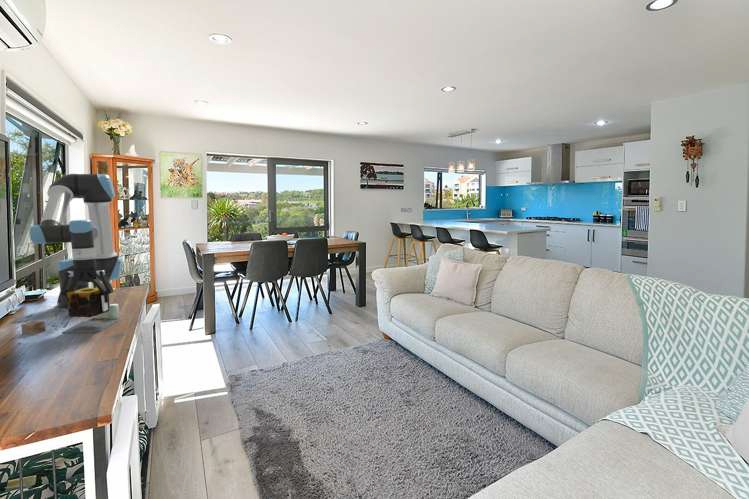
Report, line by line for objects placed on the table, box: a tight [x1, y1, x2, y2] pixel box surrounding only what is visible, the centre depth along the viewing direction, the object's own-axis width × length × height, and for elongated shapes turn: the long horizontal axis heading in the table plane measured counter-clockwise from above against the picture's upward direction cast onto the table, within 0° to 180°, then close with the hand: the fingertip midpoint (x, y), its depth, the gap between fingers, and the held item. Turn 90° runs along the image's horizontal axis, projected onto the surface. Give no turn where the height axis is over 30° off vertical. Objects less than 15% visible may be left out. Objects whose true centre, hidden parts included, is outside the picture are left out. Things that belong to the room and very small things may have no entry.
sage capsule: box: [106, 303, 120, 320], centre depth 178 cm, size 4×4×6 cm
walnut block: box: [20, 320, 46, 336], centre depth 161 cm, size 5×5×4 cm
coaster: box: [61, 319, 119, 334], centre depth 167 cm, size 14×14×1 cm
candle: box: [67, 287, 110, 319], centre depth 165 cm, size 10×10×10 cm
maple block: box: [94, 312, 108, 320], centre depth 181 cm, size 5×5×5 cm
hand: (89, 311), depth 166 cm, fingers closed on candle, 11 cm apart
